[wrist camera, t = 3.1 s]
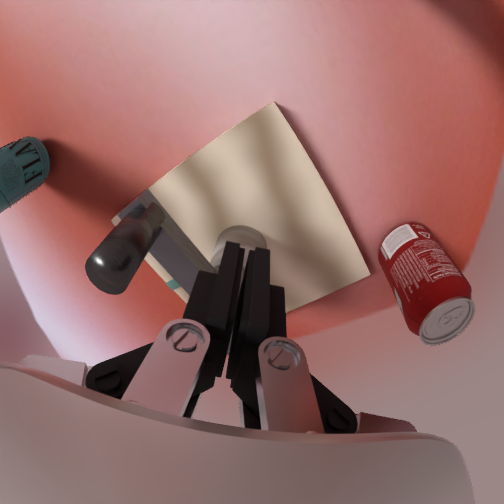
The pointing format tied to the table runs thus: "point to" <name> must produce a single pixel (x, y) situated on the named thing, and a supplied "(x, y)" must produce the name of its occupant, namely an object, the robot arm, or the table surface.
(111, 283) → the crank handle
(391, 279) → the soda can
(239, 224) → the square base with post
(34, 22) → the table surface
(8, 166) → the beverage bottle
